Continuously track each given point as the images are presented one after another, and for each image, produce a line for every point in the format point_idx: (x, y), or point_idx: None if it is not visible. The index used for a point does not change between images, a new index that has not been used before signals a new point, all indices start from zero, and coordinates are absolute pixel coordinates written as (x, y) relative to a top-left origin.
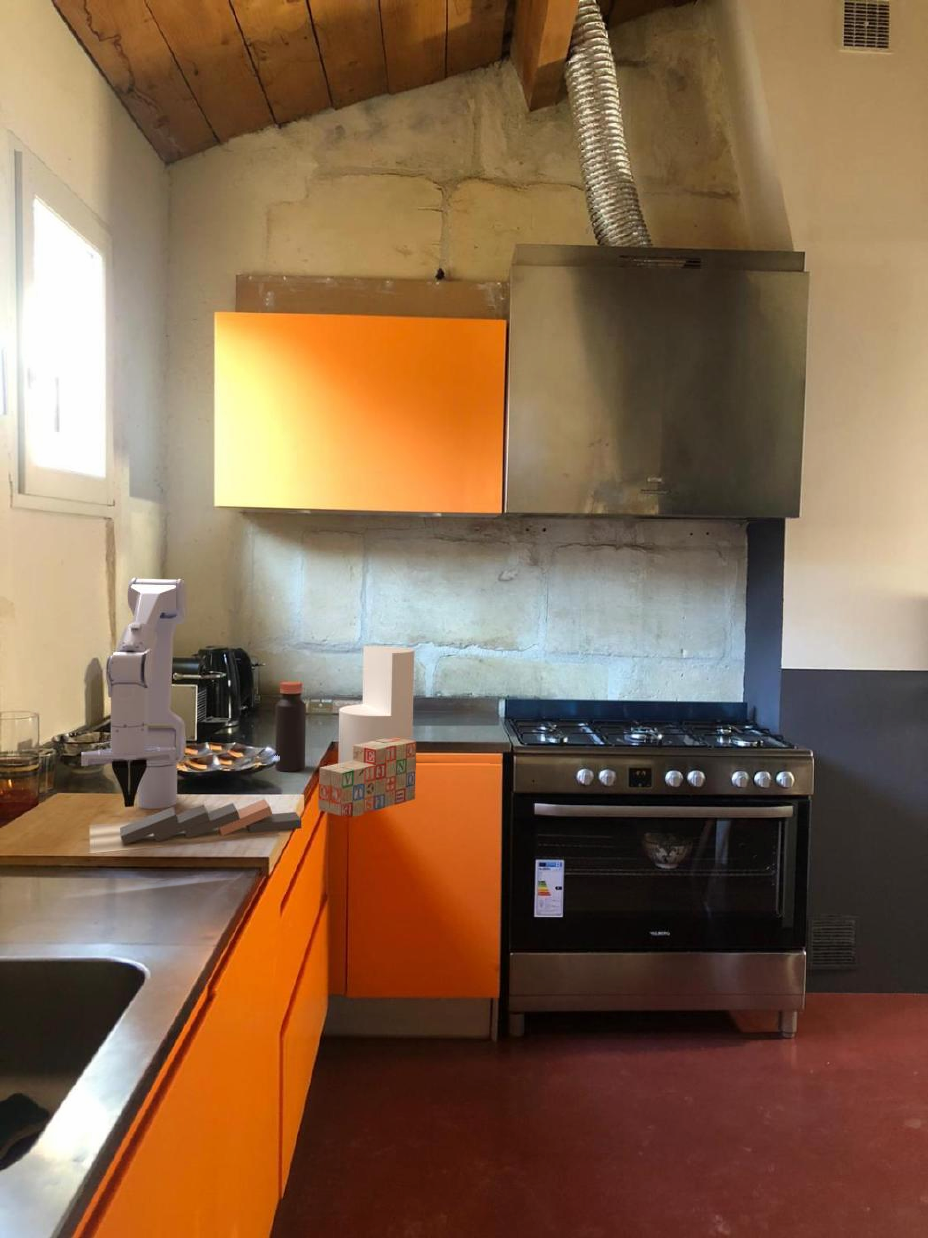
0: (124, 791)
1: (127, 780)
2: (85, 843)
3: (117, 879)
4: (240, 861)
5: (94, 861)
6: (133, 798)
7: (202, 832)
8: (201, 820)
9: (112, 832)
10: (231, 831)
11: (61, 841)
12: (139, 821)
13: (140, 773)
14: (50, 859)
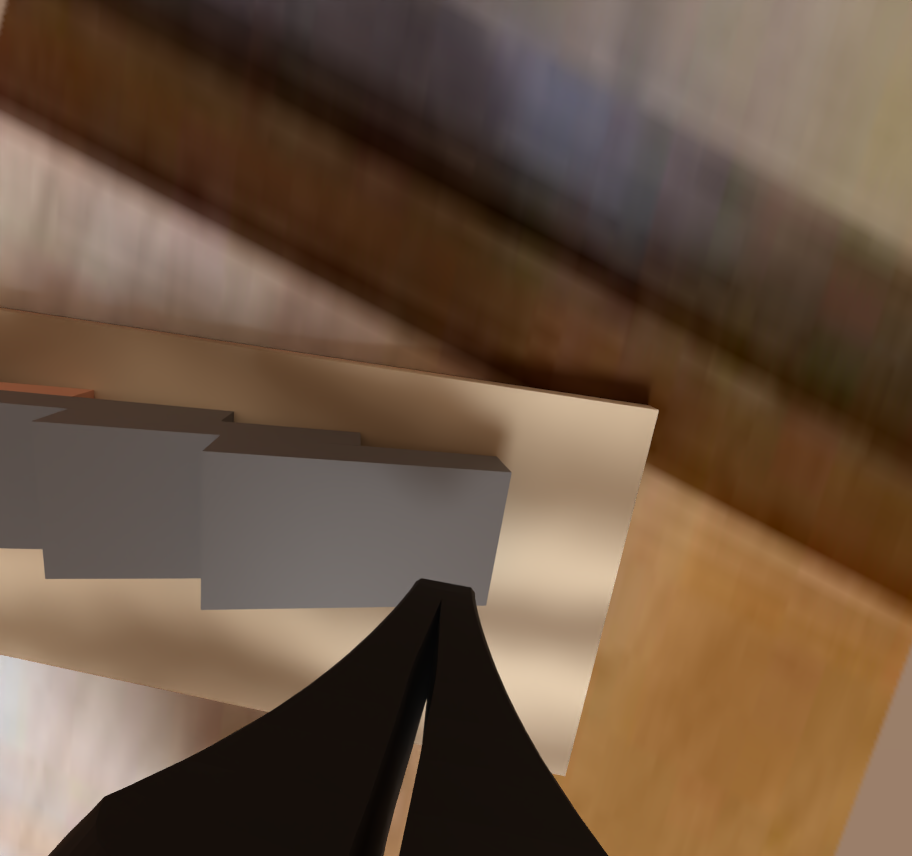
0: (475, 661)
1: (434, 746)
2: (611, 622)
3: (608, 57)
4: (68, 78)
5: (636, 376)
6: (408, 604)
7: (153, 404)
8: (104, 416)
9: (503, 647)
10: (40, 385)
11: (688, 687)
12: (396, 586)
13: (216, 779)
14: (793, 490)
